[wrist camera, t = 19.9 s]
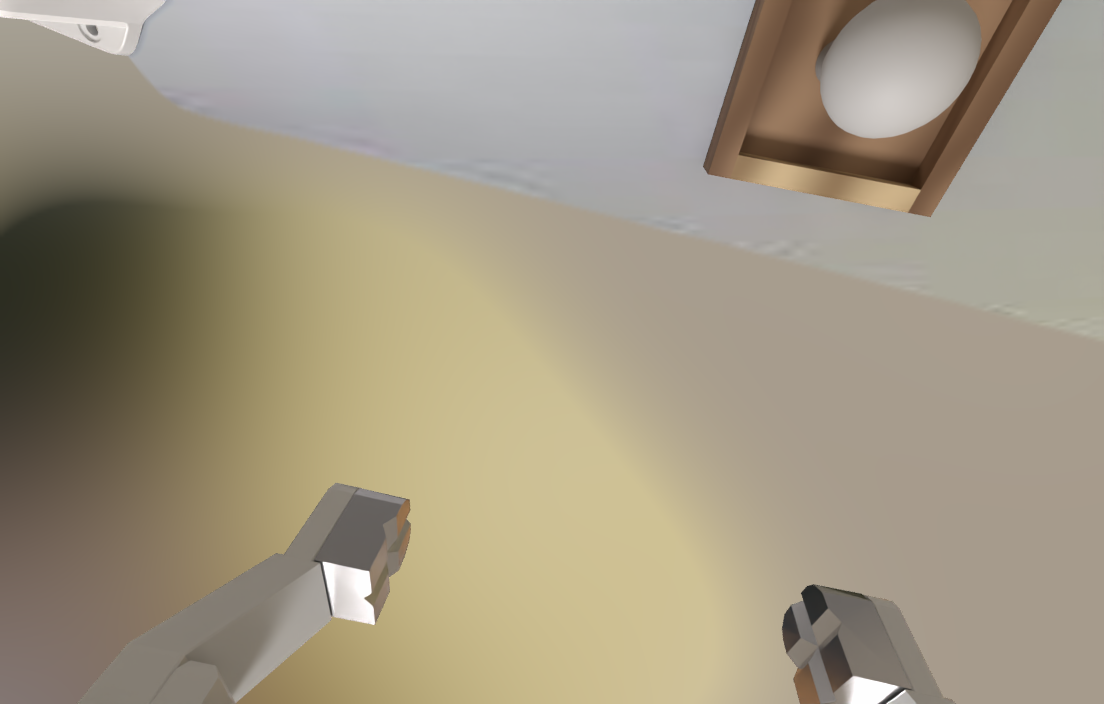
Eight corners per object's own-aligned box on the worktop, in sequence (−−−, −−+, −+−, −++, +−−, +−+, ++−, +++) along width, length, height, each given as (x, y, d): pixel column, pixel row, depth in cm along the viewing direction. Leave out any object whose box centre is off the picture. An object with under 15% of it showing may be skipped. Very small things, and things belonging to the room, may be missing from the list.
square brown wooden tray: (703, 166, 34) (708, 174, 32) (793, -119, 26) (808, -134, 24) (911, 206, 34) (930, 216, 32) (1071, -71, 25) (1110, -82, 23)
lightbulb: (886, -23, 27) (1022, -56, 17) (892, 91, 29) (1013, 114, 20) (771, 30, 28) (840, 25, 19) (788, 132, 31) (854, 170, 22)
